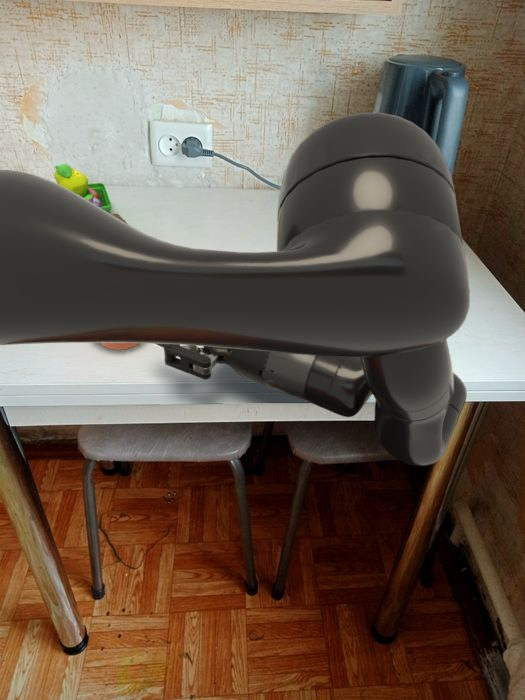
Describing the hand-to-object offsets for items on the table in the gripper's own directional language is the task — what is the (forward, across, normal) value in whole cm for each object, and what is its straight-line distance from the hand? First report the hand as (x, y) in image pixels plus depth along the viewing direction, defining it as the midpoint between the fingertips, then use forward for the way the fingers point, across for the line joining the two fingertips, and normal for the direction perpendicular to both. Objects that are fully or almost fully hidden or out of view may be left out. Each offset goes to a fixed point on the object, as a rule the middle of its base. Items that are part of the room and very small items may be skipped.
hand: (169, 312), depth 64 cm
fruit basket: (+38, -24, +8) cm, 46 cm away
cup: (+9, 0, +8) cm, 12 cm away
